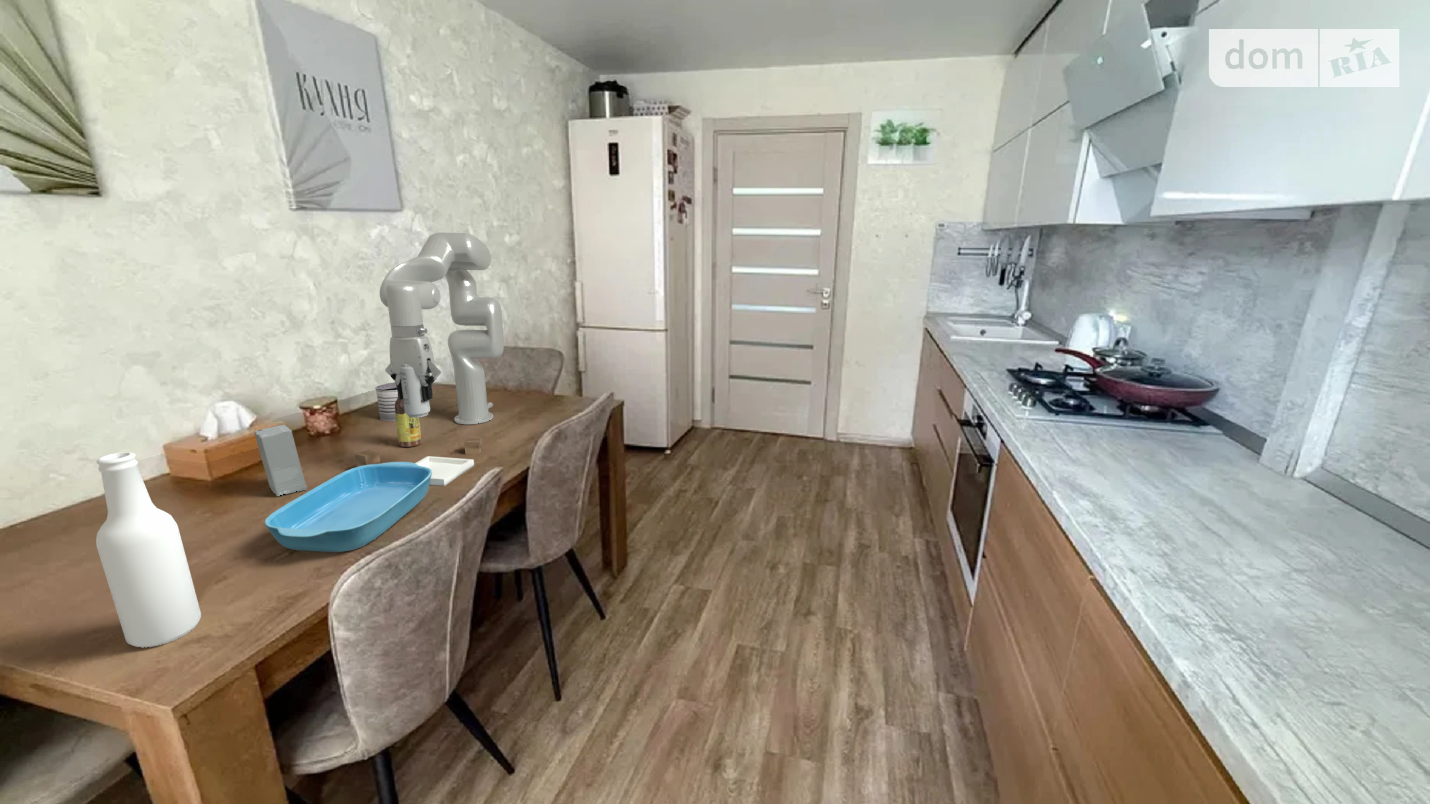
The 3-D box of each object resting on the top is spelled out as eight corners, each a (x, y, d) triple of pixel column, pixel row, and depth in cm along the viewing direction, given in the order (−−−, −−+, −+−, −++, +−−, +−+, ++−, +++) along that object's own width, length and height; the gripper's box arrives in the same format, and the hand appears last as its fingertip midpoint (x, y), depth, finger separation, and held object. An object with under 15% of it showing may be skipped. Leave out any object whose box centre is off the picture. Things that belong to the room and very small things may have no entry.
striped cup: (395, 422, 194) (390, 389, 191) (371, 418, 198) (366, 385, 194) (423, 414, 204) (418, 381, 201) (399, 410, 208) (395, 378, 205)
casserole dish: (356, 568, 109) (350, 534, 107) (244, 563, 110) (236, 530, 108) (450, 488, 145) (447, 462, 143) (365, 485, 146) (361, 459, 144)
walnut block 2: (468, 450, 171) (466, 437, 170) (482, 449, 171) (481, 436, 170) (465, 454, 167) (464, 442, 166) (479, 454, 168) (478, 441, 167)
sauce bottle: (415, 448, 171) (406, 384, 165) (394, 447, 171) (385, 384, 165) (426, 441, 177) (418, 379, 172) (406, 440, 177) (398, 379, 172)
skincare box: (307, 490, 142) (296, 430, 137) (272, 498, 137) (259, 436, 132) (299, 480, 147) (288, 422, 143) (265, 488, 142) (252, 428, 138)
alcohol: (111, 645, 87) (53, 464, 79) (174, 610, 96) (127, 443, 87) (156, 654, 86) (101, 470, 77) (216, 618, 94) (173, 448, 86)
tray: (428, 462, 161) (427, 456, 160) (474, 465, 159) (473, 459, 158) (394, 481, 147) (393, 475, 147) (444, 485, 145) (443, 479, 145)
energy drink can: (429, 417, 151) (422, 361, 147) (404, 418, 149) (396, 363, 145) (431, 410, 156) (425, 357, 152) (407, 412, 154) (400, 358, 150)
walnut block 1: (371, 466, 157) (368, 449, 156) (381, 468, 156) (378, 451, 154) (357, 471, 154) (354, 454, 152) (367, 473, 152) (365, 456, 151)
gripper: (447, 331, 149) (454, 397, 154) (388, 328, 151) (397, 393, 156) (428, 335, 142) (436, 404, 147) (367, 332, 144) (377, 400, 149)
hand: (416, 398), depth 151 cm, fingers closed on energy drink can, 6 cm apart
